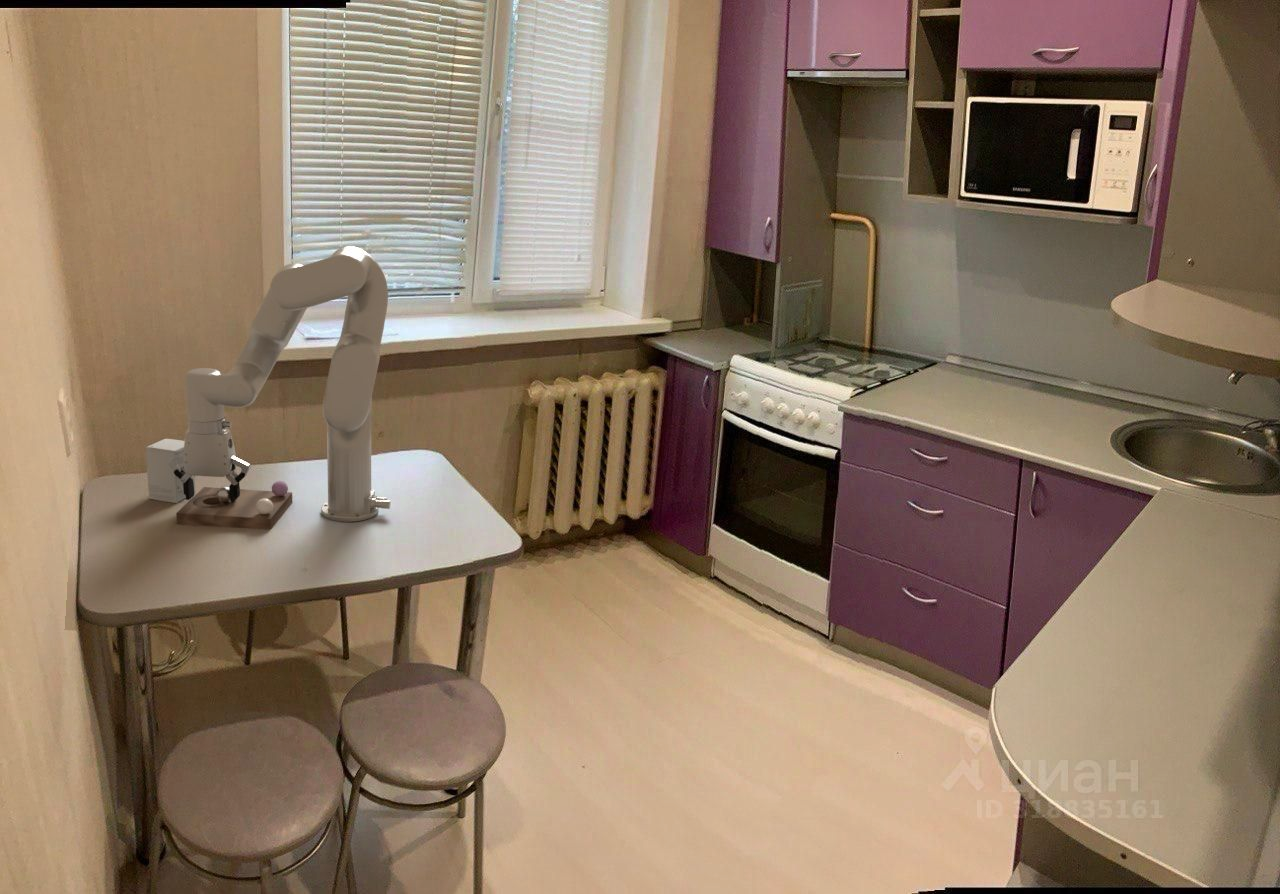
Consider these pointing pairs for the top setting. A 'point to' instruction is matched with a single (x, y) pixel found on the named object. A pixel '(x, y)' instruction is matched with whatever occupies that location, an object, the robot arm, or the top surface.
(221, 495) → the steel ball
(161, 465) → the supplement box
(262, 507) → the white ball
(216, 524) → the board
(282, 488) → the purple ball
